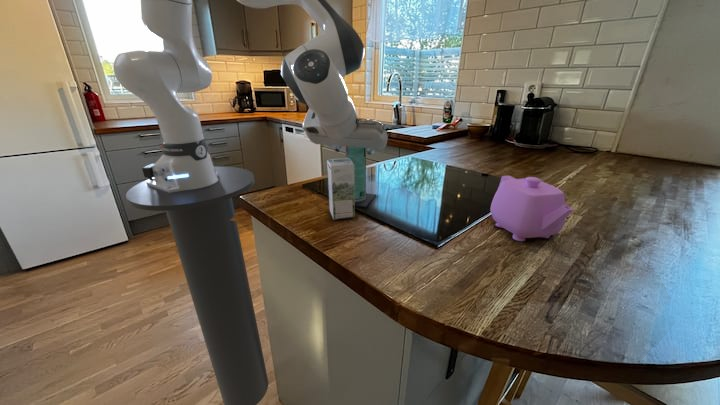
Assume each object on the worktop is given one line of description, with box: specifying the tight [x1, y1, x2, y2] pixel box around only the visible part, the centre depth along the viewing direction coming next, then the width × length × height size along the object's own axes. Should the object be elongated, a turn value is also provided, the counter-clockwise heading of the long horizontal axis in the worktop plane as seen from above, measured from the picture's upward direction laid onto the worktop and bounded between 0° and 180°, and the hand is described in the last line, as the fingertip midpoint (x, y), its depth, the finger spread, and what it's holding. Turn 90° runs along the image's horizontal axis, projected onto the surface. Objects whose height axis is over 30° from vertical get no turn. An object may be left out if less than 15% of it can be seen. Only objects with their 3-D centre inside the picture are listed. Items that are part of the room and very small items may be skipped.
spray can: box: [345, 146, 367, 202], centre depth 82 cm, size 6×6×20 cm
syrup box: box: [326, 157, 356, 221], centre depth 75 cm, size 6×6×14 cm
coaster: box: [355, 193, 377, 209], centre depth 86 cm, size 9×9×1 cm
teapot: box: [489, 174, 574, 242], centre depth 66 cm, size 20×12×13 cm, turn 12°
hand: (354, 151), depth 80 cm, fingers open, 8 cm apart
